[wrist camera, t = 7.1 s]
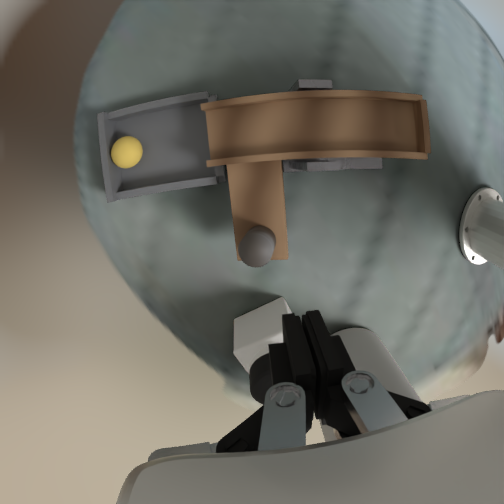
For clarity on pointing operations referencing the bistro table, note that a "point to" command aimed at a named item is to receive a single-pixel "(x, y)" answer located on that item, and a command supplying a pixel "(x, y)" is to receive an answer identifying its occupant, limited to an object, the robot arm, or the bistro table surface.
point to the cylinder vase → (372, 365)
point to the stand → (326, 163)
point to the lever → (301, 149)
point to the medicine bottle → (259, 343)
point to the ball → (126, 152)
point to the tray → (159, 147)
